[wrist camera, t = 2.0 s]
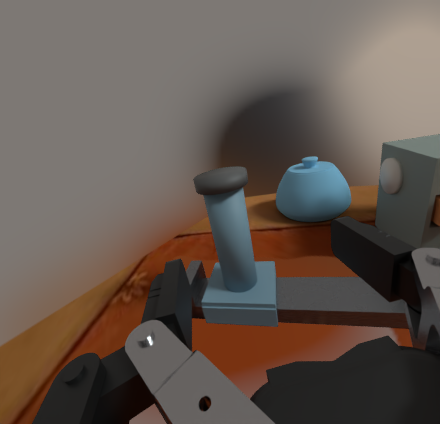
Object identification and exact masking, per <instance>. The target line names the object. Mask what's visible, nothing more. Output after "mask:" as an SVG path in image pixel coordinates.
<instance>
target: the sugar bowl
mask: <svg viewBox="0 0 440 424" xmlns="http://www.w3.org/2000/svg"><path fill="white" fill-rule="evenodd" d="M317 160H318V158H317V157H306V158H303V159H302V162H303V163H302V164H297V165H294V166H292V167H290V168H289V169H288V170H287V171H286V173H285V175H284V176H283V178H282V180H281V182H280V184H279V187H278V190H277V194H276V206H277V208H278V210H279V211H280V212H281V213H282V214H283V215H285V216H286V217H288V218H290V219H292V220H296V221H301V222H320V221H326V220H330V219H333V218H336V217H338V216H339V215H341V214H342V213H343V212H344V211H345V210H346V209H347V208H348V207H349V206H350V204H351V194H350V190H349V186H348V184H347V182H346V180H345V179H344V177H343V176H342V174H341V173H340V172H339V170H338V169H337V168H336V166H335V165H334V164H332V163H329V162H317Z"/></svg>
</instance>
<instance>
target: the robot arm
mask: <svg viewBox="0 0 440 424" xmlns="http://www.w3.org/2000/svg"><path fill="white" fill-rule="evenodd" d="M331 247H332V251H333V253H334V255H335V256H336V257H337V258H338V259H339V260H340V261H342V262H343V263H344V264H345V265H346V266H347V267H349V268H350V269H351V270H352V271H353V272H354V273H356V274H357V275H358V276H359V277H360V278H361V279H363V280H364V281H365V282H366V283H367V284H368V285H370V286H371V287H372V288H373V289H374V290H375V291H377V292H378V293H379V294H380V295H381V296H382V297H384V298H385V299H386V300H387V301H388V302H389V303H390V302H393V301H397V300H401V299H402V300H404V301H405V307H404V308H405V313H406V318H407V322H408V327H409V331H410V336H411V340H412V345H413V347H405V346H398V345H397V344H396V343H395V342H394V341H393V340H392V339H391V338H390V337H389V336H385V337H382V338H378V339H375V340H371V341H367V342H364V343H360V344H358V345H356V346H355V347H354V348H352V349H351V350H349V351H348V352H346V353H345V354H343V355H342V356H340V357H339V358H337V359H336V360H334V361H323V362H321V361H306V362H305V361H304V362H303V361H302V362H293V363H290V364H286V365H283V366H279V367H275V368H272V369H268V370H266V372H267V378H268V382H267V383H266V384H264V385H263V386H262V387H261V388H259V390H257V391H256V392H255V393H254V395H253V396H252V397H251V398H250V399H249V398H248V397H247V396H245V394H243V392H241V391H240V390H239V389H238V388H237V387H236V386H235V385H234V384H233V383H232V382H231V381H230V380H229V379H227V377H226V376H225V375H224V374H223V373H222V372H220V371H219V370H218V369H217V368H216V367H215V366H214V365H213V364H212V363H211V362H210V361H209V360H208V359H207V358H206V357H205V356H204V355H203V354H202V353H200V352H199V351H197V350H195V351H194V352H192V294H191V287H190V283H189V280H188V277H187V274H186V271H185V268H184V265H183V262H182V260H181V259H177V260H173V261H169V262H166V264H165V269H164V273H162V274H158V275H157V276H156V277H155V279H154V280H153V281H152V283H151V287H150V292H149V295H148V299H147V302H146V306H145V310H144V314H143V318H142V321H141V325H139V326H138V327H136V328H135V329H134V330H133V331H132V332H131V334H130V335H129V336H128V338H127V340H126V343H125V346H124V347H122V348H121V349H119V350H117V351H115V352H114V353H112V354H110V355H108V356H106V357H105V358H103V359H101V360H100V358H99V357H98V355H97V354H95V353H86V354H83V355H81V356H79V357H77V358H75V359H74V360H72V361H71V362H70V363H68V364H67V365H66V366H65V367H64V368H63V369H62V370H61V371H60V372H59V374H58V375H57V376H56V378H55V380H54V381H53V383H52V385H51V387H50V389H49V391H48V393H47V395H46V397H45V399H44V401H43V403H42V405H41V407H40V409H39V411H38V413H37V415H36V417H35V419H34V421H33V423H32V424H129V421H130V420H131V419H132V418H133V417H135V416H136V415H138V414H139V413H141V412H142V411H144V410H145V409H147V408H148V407H150V406H151V405H153V404H154V403H155V405H156V407H157V408H158V410H159V412H160V413H161V415H162V416H163V418H164V420H165V421H166V423H167V424H440V249H437V248H419V249H417V248H415V247H413V246H411V245H409V244H407V243H405V242H403V241H401V240H399V239H398V238H396V237H394V236H392V235H391V236H390V234H388V233H386V232H384V231H383V232H382V230H380V229H378V228H376V227H374V226H372V225H368V224H364V223H360V222H358V221H356V220H355V219H353V218H351V217H349V216H346V217H342V218H338V219H334V220H332V221H331Z"/></svg>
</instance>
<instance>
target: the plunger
mask: <svg viewBox="0 0 440 424" xmlns="http://www.w3.org/2000/svg"><path fill="white" fill-rule="evenodd" d="M431 221H433V222H434V223H435V224H437V225H438V226H440V195H436V197H435V202H434V207H433V212H432V217H431Z"/></svg>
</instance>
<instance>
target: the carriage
mask: <svg viewBox="0 0 440 424" xmlns="http://www.w3.org/2000/svg"><path fill="white" fill-rule="evenodd" d="M193 180H194V184H195V188H196V192H197V193H198V194H201V195H204V200H205V204H206V208H207V212H208V216H209V221H210V225H211V229H212V233H213V238H214V242H215V246H216V250H217V254H218V259H219V263H215V266H214V269H213V272H212V274H211V277H210V280H209V283H208V285H207V288H206V291H205V294H204V296H203V299H202V302H201V303H202V309H203V313H204V316H205V319H206V322H207V323H217V324H236V325H256V326H274V327H278V318H277V310H276V271H275V263H274V261H269V262H255V261H254V255H253V249H252V242H251V236H250V230H249V224H248V217H247V211H246V205H245V199H244V192H243V186H245V185H246V184H247V183H248V179H247V171H246V168H244V167H225V168H220V169H215V170H211V171H208V172H205V173H202V174H200V175H198V176H196V177H195V178H194V179H193Z"/></svg>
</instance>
